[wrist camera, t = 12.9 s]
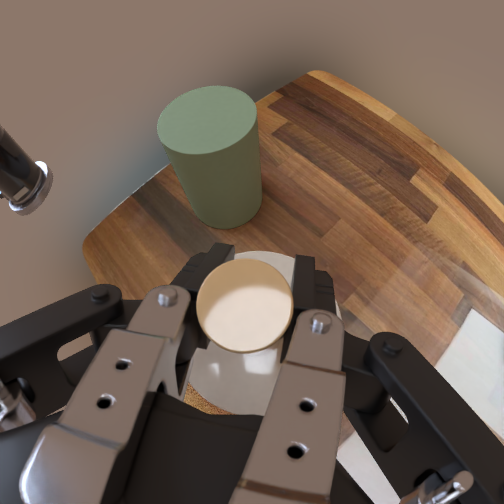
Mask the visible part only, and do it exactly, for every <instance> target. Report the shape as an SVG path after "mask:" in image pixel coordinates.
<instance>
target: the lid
mask: <svg viewBox="0 0 504 504" xmlns="http://www.w3.org/2000/svg"><path fill="white" fill-rule="evenodd" d="M294 262H295V259H294V258H292V257H289V256H286V255H283V254H280V253H274V252H268V251H249V252H243V253H238V254H235V255H234V260H231V261H228V262H226V263H223V264H221V265H220V266H218V267H217V268H215V269H214V270H213V271H212V272H211V273H210V274H209V275H208V276H207V277H206V279H205V280H204V281H203V283H202V285H201V287H200V289H199V292H198V296H197V301H196V312H197V318H198V321H199V324H200V326H201V328H202V330H203V332H204V333H205V335H206V336H207V337H208V338H209V339H210V340H211V341H210V343H209V345H208V348H207V350H205V349H201V348H197V349H196V351H195V353H194V355H193V360H194V362H193V366H192V370H191V374H190V378H189V381H188V382H189V383H190V384H191V385H192V387H193V388H194V389H195V390H196V391H197V392H198V393H199V394H200V395H201V396H202V397H203V398H205V399H206V400H207V401H209V402H210V403H211V404H213V405H215V406H217V407H219V408H220V409H223V410H225V411H228V412H230V413H233V414H237V415H246V414H255V415H261V416H264V415H265V412H266V409H267V406H268V404H269V401H270V398H271V395H272V392H273V389H274V386H275V383H276V380H277V377H278V374H279V371H280V368H281V365H282V364H281V363H280V358H281V351H282V343H283V336H284V334H285V333H286V331H287V329H288V327H289V325H290V322H291V319H292V316H293V309H294V302H293V295H292V291H291V289H290V286H291V280H292V274H293V268H294ZM335 303H336V312H337V316H338V317H339V318H340V319H341V320H342V318H341V313H340V310H339V307H338V304H337V301H336V299H335Z"/></svg>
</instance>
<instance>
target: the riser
mask: <svg viewBox="0 0 504 504" xmlns="http://www.w3.org/2000/svg"><path fill="white" fill-rule="evenodd" d="M157 131H158V136H159V138H160V141H161V143H162V145H163V147H164V149H165V151H166V154H167V156H168V158H169V160H170V162H171V164H172V166H173V169H174V171H175V173H176V175H177V177H178V179H179V181H180V183H181V185H182V188H183V190H184V192H185V194H186V196H187V198H188V200H189V202H190V204H191V206H192V208H193V210H194V212H195V214H196V216H197V217H198V218H199V219H200V220H201V221H202V222H203V223H205V224H206V225H208V226H210V227H213V228H218V229H231V228H235V227H239V226H241V225H243V224H245V223H246V222H248V221H249V220H251V219H252V218H253V217H254V216H255V214H256V213H257V212H258V210H259V208H260V206H261V202H262V183H261V167H260V151H259V136H258V122H257V109H256V106H255V104H254V102H253V101H252V99H251V98H250V97H249V96H248V95H247V94H245V93H244V92H242V91H240V90H238V89H235V88H231V87H226V86H208V87H203V88H198V89H195V90H192V91H190V92H187V93H185V94H183V95H181V96H179V97H178V98H176V99H175V100H174V101H172V102H171V103H170V104H169V105H168V106H167V107H166V108H165V109H164V111H163V112H162V114H161V116H160V118H159V121H158V125H157Z"/></svg>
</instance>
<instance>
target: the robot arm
mask: <svg viewBox="0 0 504 504" xmlns="http://www.w3.org/2000/svg"><path fill="white" fill-rule="evenodd" d="M42 177H43V171H42V169H41V167H40V166H39V165H37V164H36V163H35V162H34V161H33V160H32V159H31V158H30V157H29V155H27V154H26V153H25V151H24V150H23V149H22V148H21V147H20V146H19V145H18V144H17V143H16V142H15V140H14V139H13V138H12V137H11V136H10V135H9V134H8V133H7V132H6V131H5V129H4V128H3V127H2V126H1V125H0V198H1V199H2V198H4V197H5V198H6V199H7V200H8V201H10V202H13V203H14V204H16V205H22V204H24V203H26V202H27V201H28V200H30V199H31V198H32V196H33V195H34V194H35V193H36V191H37V190H38V188H39V186H40V184H41V181H42ZM234 255H235V247H234V245H229V244H222V243H215V244H214V245H213V246H212V248H211V249H210V251H209V252H208V253H199V254H197V255H195V256H193V257H191V258H190V259H189V261H188V262H187V263H186V265H185V266H184V267H183V268H182V271H180V272H179V273H178V275H177V276H176V277H175V278H174V280H173V281H172V282H171V283H170V285H162V286H158V287H155V288H153V289H151V290H150V291H149V292H148V293H147V294H146V296H145V298H144V299H143V300H123V299H122V293H121V290H120V289H119V288H118V287H116V286H114V285H110V284H100V285H95V286H92V287H90V288H87V289H85V290H82V291H80V292H78V293H75V294H73V295H71V296H69V297H66V298H64V299H62V300H59V301H57V302H55V303H53V304H50V305H48V306H46V307H43V308H41V309H39V310H37V311H35V312H32V313H30V314H28V315H25V316H23V317H21V318H19V319H17V320H14V321H12V322H11V323H8V324H6V325H4V326H1V327H0V504H374V502H373V501H372V500H371V499H370V498H369V497H368V496H367V494H366V493H365V492H364V491H363V490H362V489H361V487H360V486H359V485H358V484H357V483H356V482H355V480H354V479H353V478H352V477H351V476H350V475H349V473H348V472H347V471H346V470H345V469H344V467H343V466H342V465H341V464H340V463H339V461H338V460H337V459H336V456H337V450H338V443H339V436H340V429H341V421H342V412H343V411H344V413H345V414H346V416H347V418H348V419H349V421H350V422H351V424H352V425H353V427H354V428H355V430H356V432H357V433H358V435H359V436H360V438H361V439H362V441H363V442H364V444H365V446H366V447H367V449H368V450H369V452H370V453H371V455H372V456H373V458H374V459H375V461H376V463H377V464H378V466H379V467H380V469H381V470H382V472H383V473H384V475H385V476H386V478H387V479H388V481H389V483H390V484H391V486H392V487H393V489H394V490H395V492H396V493H397V495H398V496H399V498H400V499H401V501H400V503H399V504H504V446H503V444H502V443H501V442H500V441H499V440H498V438H497V437H496V436H495V435H494V434H493V433H492V431H491V430H490V429H489V428H488V427H487V426H486V424H485V423H484V422H483V421H482V420H481V419H480V418H479V416H478V415H477V414H476V413H475V412H474V411H473V410H472V408H471V407H470V406H469V405H468V404H467V403H466V402H465V401H464V400H463V398H462V397H461V396H460V395H459V394H458V393H457V392H456V391H455V390H454V389H453V387H452V386H451V385H450V384H449V383H448V382H447V381H446V380H445V379H444V378H443V377H442V376H441V374H440V373H439V372H438V371H437V370H436V369H435V368H434V367H433V366H432V365H431V364H430V363H429V362H428V361H427V360H426V359H425V358H424V357H423V355H422V354H421V353H420V352H419V351H418V350H417V349H416V348H415V347H414V346H413V345H412V344H411V343H410V342H409V341H408V340H407V339H405V338H404V337H402V336H400V335H398V334H395V333H391V332H380V333H377V334H375V335H373V336H372V338H371V339H370V342H369V341H366V340H363V339H360V338H358V337H355V336H353V335H351V334H349V333H348V332H346V331H345V330H344V323H343V321H342V320H341V319H340V318H339V317H338V316H337V312H336V303H335V295H334V288H333V279H332V278H331V276H330V275H329V274H328V273H327V272H326V271H320V270H315V257H311V256H304V255H297V254H296V256H295V262H294V268H293V274H292V280H291V286H290V289H291V291H292V295H293V302H294V309H293V316H292V319H291V322H290V325H289V327H288V329H287V331H286V333H285V334H284V336H283V343H282V351H281V358H280V363H281V364H282V365H281V368H280V371H279V374H278V377H277V380H276V383H275V386H274V389H273V392H272V395H271V398H270V401H269V404H268V406H267V409H266V412H265V415H264V416H261V415H255V414H246V415H213V414H207V413H204V412H202V411H200V410H198V409H196V408H194V407H192V406H190V405H188V404H186V403H184V402H183V400H184V396H185V393H186V389H187V385H188V381H189V378H190V374H191V370H192V366H193V362H194V360H193V355H194V353H195V351H196V349H197V348H201V349H205V350H207V348H208V345H209V343H210V341H211V340H210V339H209V338H208V337H207V336H206V335H205V333H204V332H203V330H202V328H201V326H200V324H199V321H198V318H197V312H196V301H197V296H198V292H199V289H200V287H201V285H202V283H203V281H204V280H205V279H206V277H207V276H208V275H209V274H210V273H211V272H212V271H213V270H214V269H215V268H217V267H218V266H220V265H221V264H223V263H226V262H228V261H231V260H234ZM88 332H89V334H90V337H91V340H92V343H93V345H91V346H89V347H87V348H85V349H84V350H81V351H80V352H78V353H76V354H74V355H72V356H70V357H68V358H66V359H64V360H62V361H58V359H57V352H58V350H59V348H60V347H61V346H63V345H64V344H66V343H68V342H70V341H72V340H74V339H76V338H78V337H80V336H82V335H84V334H86V333H88ZM391 397H392V398H393V399H394V401H395V402H396V403H397V405H398V406H399V407H400V408H401V410H402V411H403V412H404V414H405V415H406V417H407V419H408V423H407V422H406V421H405V419H404V418H403V417H402V416H401V414H400V413H399V412H398V410H397V409H396V408H395V406H394V405H393V404H392V403H391V401H390V398H391ZM65 405H66V407H65V409H64V410H62V411H59V412H57V413H54V414H52V415H49V414H51V413H53V412H55V411H56V410H58V409H60V408H62V407H64V406H65ZM47 415H49V416H47Z"/></svg>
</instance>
